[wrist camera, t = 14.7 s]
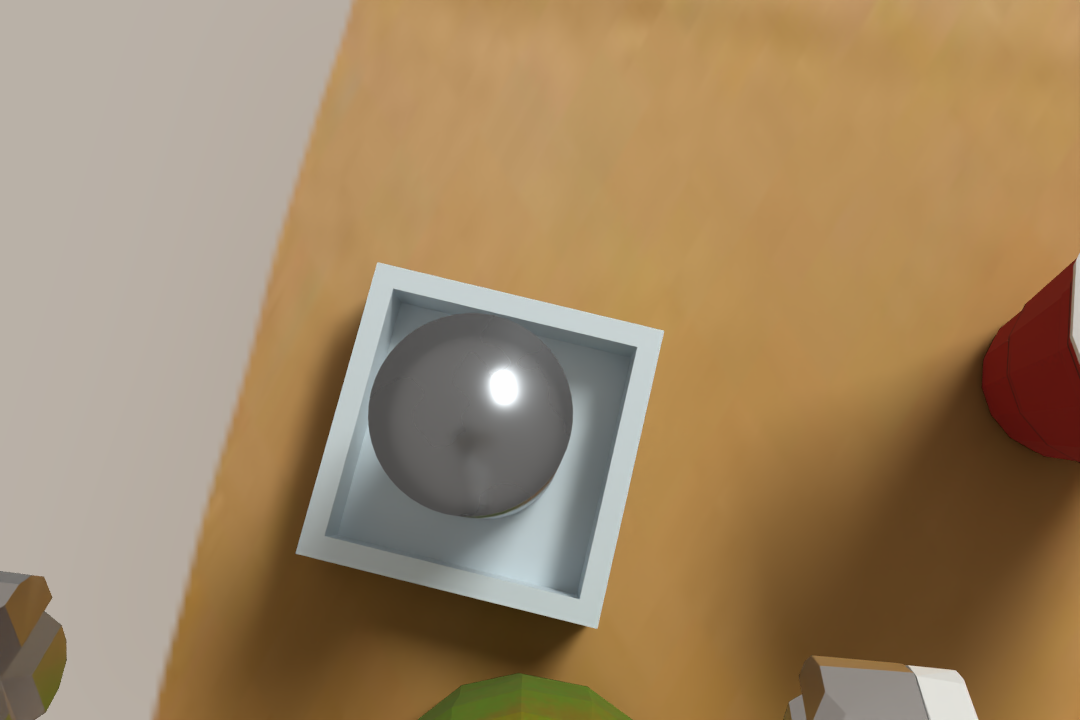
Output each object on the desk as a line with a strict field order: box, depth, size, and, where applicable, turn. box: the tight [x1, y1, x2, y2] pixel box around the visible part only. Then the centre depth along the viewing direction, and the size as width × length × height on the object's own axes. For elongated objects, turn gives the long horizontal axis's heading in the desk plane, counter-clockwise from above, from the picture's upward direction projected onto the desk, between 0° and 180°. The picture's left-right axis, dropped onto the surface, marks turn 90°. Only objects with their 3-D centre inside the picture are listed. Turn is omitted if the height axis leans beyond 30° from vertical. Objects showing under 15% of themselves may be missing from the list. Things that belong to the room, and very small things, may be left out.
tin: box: [368, 313, 573, 519], centre depth 30 cm, size 6×6×10 cm
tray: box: [295, 262, 664, 629], centre depth 34 cm, size 11×11×3 cm
